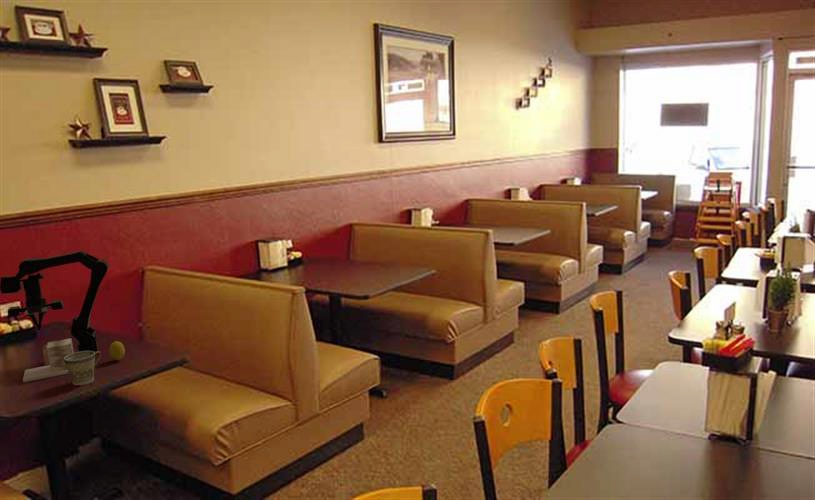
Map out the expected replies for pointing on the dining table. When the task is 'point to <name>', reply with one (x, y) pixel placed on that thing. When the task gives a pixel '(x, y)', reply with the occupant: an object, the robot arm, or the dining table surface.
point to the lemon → (116, 350)
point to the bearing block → (59, 353)
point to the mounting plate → (41, 373)
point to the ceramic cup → (81, 366)
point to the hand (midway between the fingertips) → (39, 329)
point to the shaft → (46, 354)
